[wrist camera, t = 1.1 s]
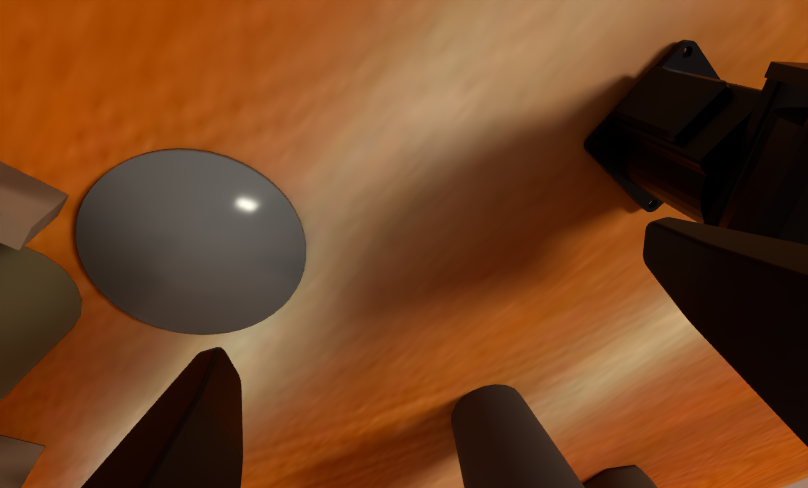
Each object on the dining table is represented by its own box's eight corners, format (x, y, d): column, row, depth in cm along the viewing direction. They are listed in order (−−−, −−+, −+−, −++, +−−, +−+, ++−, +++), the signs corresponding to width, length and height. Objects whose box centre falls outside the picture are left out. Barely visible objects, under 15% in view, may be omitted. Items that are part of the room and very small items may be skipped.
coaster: (345, 225, 22) (345, 229, 22) (240, 355, 25) (239, 360, 25) (142, 99, 18) (139, 101, 17) (42, 275, 20) (38, 280, 20)
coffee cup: (412, 440, 32) (451, 606, 23) (467, 359, 29) (534, 516, 20) (503, 453, 35) (566, 605, 26) (561, 381, 31) (655, 526, 23)
